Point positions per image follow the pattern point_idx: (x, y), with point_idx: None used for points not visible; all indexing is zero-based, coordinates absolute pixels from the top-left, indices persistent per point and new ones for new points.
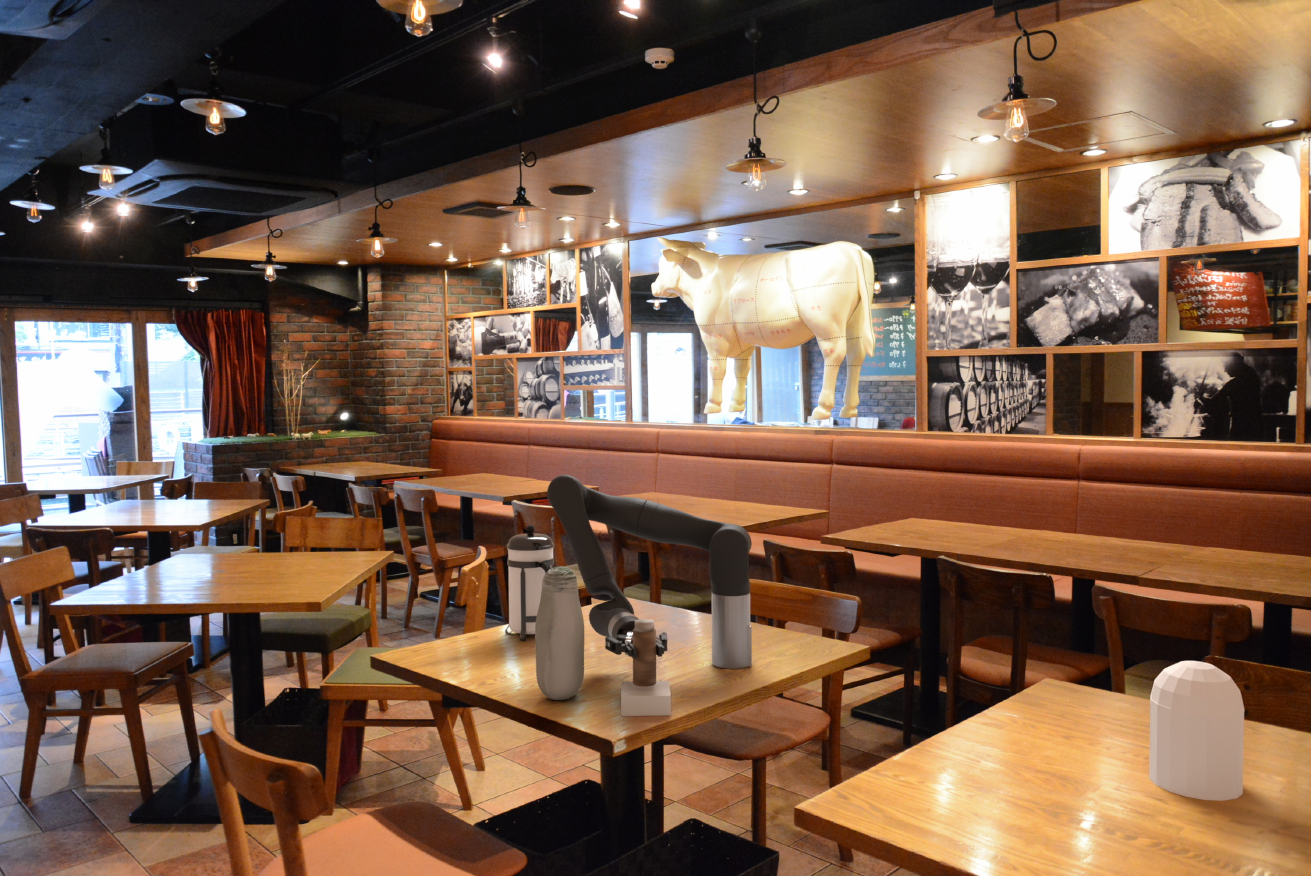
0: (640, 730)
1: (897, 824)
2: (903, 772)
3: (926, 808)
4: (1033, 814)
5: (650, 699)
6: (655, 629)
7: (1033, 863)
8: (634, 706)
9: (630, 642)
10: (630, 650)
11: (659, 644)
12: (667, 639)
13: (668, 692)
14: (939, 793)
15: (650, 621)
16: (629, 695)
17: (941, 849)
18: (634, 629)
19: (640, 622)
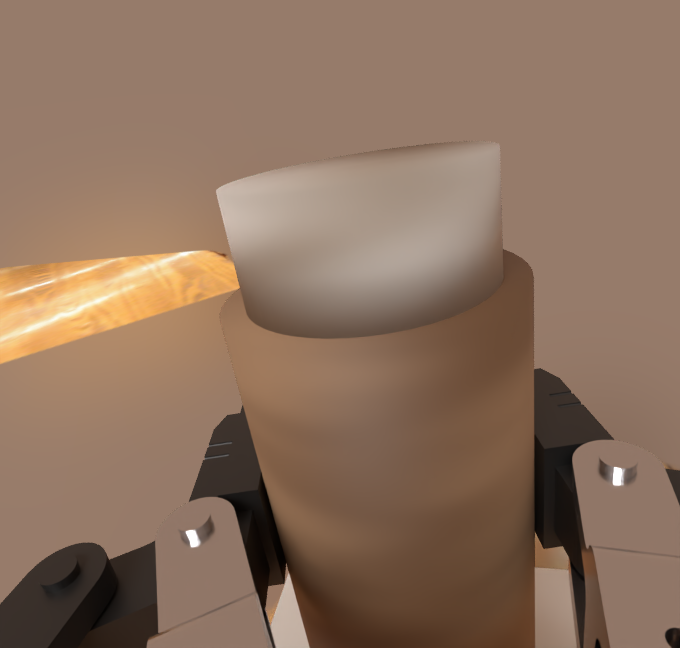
0: None
1: (195, 272)
2: (65, 332)
3: (139, 288)
4: (61, 288)
5: None
6: (229, 304)
7: (151, 255)
8: None
9: (576, 469)
10: (538, 374)
11: (245, 422)
12: (35, 573)
13: (290, 602)
14: (91, 305)
15: (276, 178)
16: (537, 579)
17: (196, 258)
18: (511, 287)
19: (417, 151)
